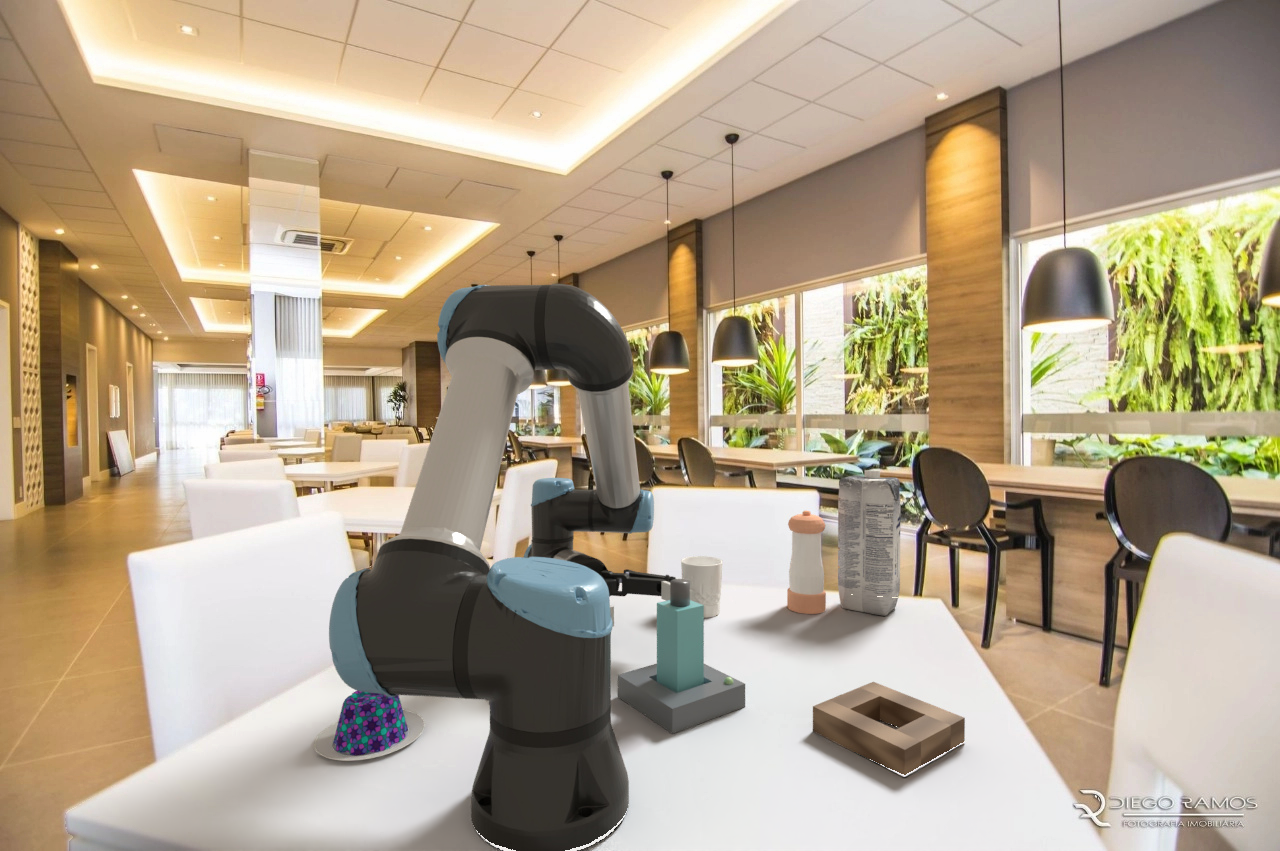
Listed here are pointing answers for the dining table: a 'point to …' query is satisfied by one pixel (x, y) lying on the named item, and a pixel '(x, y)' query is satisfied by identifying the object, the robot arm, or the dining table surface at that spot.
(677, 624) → the plug
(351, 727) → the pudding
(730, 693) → the port
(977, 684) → the dining table surface
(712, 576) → the white cup
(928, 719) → the holster
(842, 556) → the juice carton
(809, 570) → the pepper shaker
